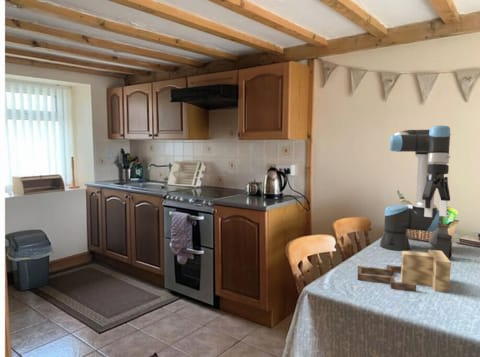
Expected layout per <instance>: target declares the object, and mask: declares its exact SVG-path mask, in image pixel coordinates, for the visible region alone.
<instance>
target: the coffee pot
mask: <svg viewBox="0 0 480 357" xmlns="http://www.w3.org/2000/svg"><path fill="white" fill-rule="evenodd" d="M442 219H443V220H444V218H441V217H440V219H439V223H438V226H437V229H436V230H435V231H433V233H432V235H431V237H430V238H429V240H428V242H429V245H430V246H433V247H432V248H433V249H436V242H437V234H438V233H439V234H445V235H450V234H449V232H448V228H449V227H450V225H449V224H445V223H443V222H444V221H443V220H442ZM452 241H453V240H451V246H452V247H453V242H452Z"/></svg>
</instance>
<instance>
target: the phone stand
mask: <svg viewBox="0 0 480 357" xmlns="http://www.w3.org/2000/svg"><path fill="white" fill-rule="evenodd" d="M452 237H453V236H452V235H450V234H449V235H445V234H439V233H438V234H437V242H436V248H434V250H438V251H442V252H443V253H444V254H445V256H446V257H447V258H448V259H449V260H450V259H451V258H452V257H453V255H452V254H453V253H452V250H453V248H452V247H453V245H452V246H451V241H452Z"/></svg>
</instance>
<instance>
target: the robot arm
mask: <svg viewBox="0 0 480 357" xmlns="http://www.w3.org/2000/svg"><path fill="white" fill-rule="evenodd" d="M451 135H452V134H451V128H450V126H449V125H434V126H433V125H432V126H430V127H429V129H405V130H402V131H398V132H396V133H394V134H392V135H391V136H390V139H389V140H390V142H389V150H390V151H391V152H395V153H396V152H397V153H400V152H412V153H413V152H415V153H414V155H415V156H416V158H417V174H416V175H417V176H416V177H417V178H416V193H415V202H414V204H412V207H411V208H409V206H408V205H406V204H393V205H388V206H386V208H385V210H384V223H383V224H384V226H383V233H382V236H381V240H379V246H380V247H381V248H383V249H386V250H391V251H401V252H402V251H409V250H410V247H411V246H410V241H409V238H408V234H407V233H408V231H422V232H434V231H435V230H436V229H437V226H438V224H440V218H441V216H442V217H444V218H445V217H446V218H447V215H448V202H449V201H451V195H450V188H449V183H448V182H449V181H448V180H449V178H448V176H445V175H448V174H449V170H450V168H449V167H450V166H449V165H448V164H449V163H450V158H451V156H450V142H451ZM436 191H437V192H438V194H439V198H440V199H439V208H438V207H437V206H436V205H435V193H436ZM437 208H438V209H437Z"/></svg>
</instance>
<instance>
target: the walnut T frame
mask: <svg viewBox="0 0 480 357" xmlns="http://www.w3.org/2000/svg"><path fill="white" fill-rule="evenodd" d="M392 273H398V274H401V265H393V264H392V265H389V264H387V265H386V268H381V267H374V266H373V267H372V266H363V265H357V281H365V282H374V283H382V284H389V287H390V289H391V290H392V289H393V290H398V291H399V290H401V291H407V292H408V291H409V292H415V293H416V292H417V284H412V283H403V282H402V281H396V280H395V277H394V276H393V274H392Z"/></svg>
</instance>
